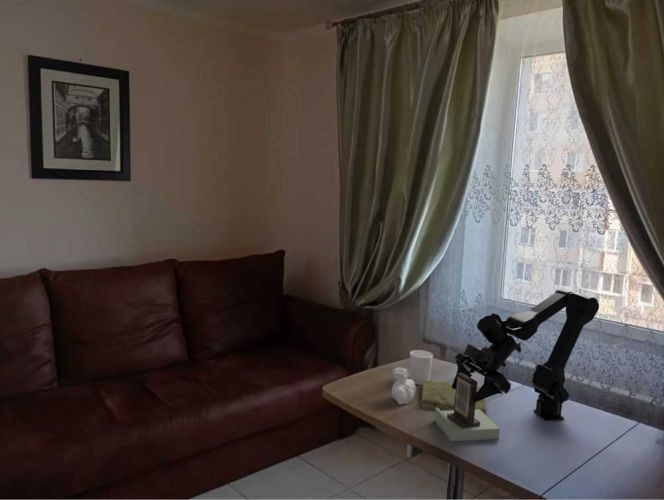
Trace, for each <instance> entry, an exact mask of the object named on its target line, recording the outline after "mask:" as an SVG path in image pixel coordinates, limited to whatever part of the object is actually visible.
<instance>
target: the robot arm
mask: <svg viewBox="0 0 664 500" xmlns="http://www.w3.org/2000/svg"><path fill="white" fill-rule="evenodd" d="M599 308H600V304H599V301H598V299H597V298H596V297H593V296H590V295H587V294H582V293H579V292H575V293H574V292H573V291H570V290H566V289H563V288H561V289H560V288H559V289H556V291H554V293H553V294H551V295H550V296H549V297H546V299H544V300H543V301H541V302H539V303H538V304H536V305H535V306H534V307H532V308H531V309H528V310H527V311H522V312H517V313H515V314H512V315H510V316H509V317H508V318H506V319H504V320H503V319H502V318H501V317H500V315H499V314H498V313H496V312H492V313H491V314H490V315H486V316H483V317H481V318H480V319H479V320H478V322H477V324H476V328H477V331H479V332H480V334H481V335H482V336H483V338H484V339H485V340H486V341H487V342H488V343H490V345H489V346H488V347H486V346H484V347H482V348H481V349H480V348H478V347H476V346H473V345H471V344H467V345H466V348H465V350H464V352H458V353H457V354H456V355H455V357H454V359H455V363H456V366H457V369H456V374H455V376H454V379H453V381H452V383H451V384H452V388H453V389H456V381H457V373H461V372H462V373H464V374H465V375H467V376H469V377H470V378H472V376H473V374H474V373H477V374H479V375H480V376H482V377H484V380H483V383H482V385H481V386H480V389H479V390H478V392H477V393H476V394H475V396H474V397H473V399H472V401H473V402H474V403H475V402H478V401H480V400H483V399H485V400H486V399H487V398H490V397H493V396H497V395H499V394H500V395H503V393H504V394H506V395H507V394H508V393H509V391H510V390H511V387H512V383H511V382H510V381H509V380H508V378H506V376H505V375H504V374H503V373H501V372H499V371H498V370H499V369H500V368H501V367H502V368H505V367H507V364H506V363H505V362H506V361H507V359H509V357H511V355H512V353H514V351H516V352H517V353H521V352H522V347H521V346H522V345H521V342H520V341H517V340H515V338H517V339H519V340H521V341H524V342H526V341H528V340H530V339H531V338H532V337H533V336H534V335H535V334H536V333H537V332H538V330H539V327H540V325H542V324H543V323H545V322H546V321H547V320H548V319H550V318H551V317H553V316H555V314H558V313H559V312H560V311H563V309H564V310H565V315H566V320H565V322H564V324H563V326H562V329H561V331H560V333H559V335H558V337H557V339H556V342H555V344H554V346H553V348H552V349H551V350H552V351H551V352H550V354H549V357H548V360H547V361H546V362H545V363H543V364H541V363H538V364H537V365H536V368H535V370H534V372H533V374H532V379H531V382H532V385H533V390H534V392H535V393H537V394H538V397H537V399H536V404H535V409H533V412H534V413H535V414H537V415H538V416H539V417H540V418H542V419H543V420H544V421H560V420H563V421H564V419H565V417H564V416H562V408H563V404H564V403H565V402H567V401H568V400H569V397H570V393H569V391H567V389H566V388H565V387H564V385H565V382H566V375H565V368H566V366H567V363H568V361H569V359H570V357H571V354H572V352H573V350H574V348H575V345H576V343H577V341H578V339H579V337H580V335H581V332H582V330H583V328H584V326H585V325H587V324H588V323H590V322H591V321H593V320H594V318H595V316H596V315H597V313H598V311H599Z"/></svg>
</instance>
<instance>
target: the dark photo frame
mask: <svg viewBox="0 0 664 500" xmlns="http://www.w3.org/2000/svg"><path fill="white" fill-rule="evenodd" d="M456 373H457V372H456ZM477 387H478V381H477V380H475V379H474V378H472V377H469V376H467V375H465V374H464V373H462V372H461V373H457V381H456V393H455V404H454V413H451V414H447V418H449V419H450V420H451V421H453V422H454V423H455V424H457V425H458V426H459V427H460V428H462V429H463V428H469V427H474V426H480V422H479V421H478V420H476V419H475V418H474V415H475V404H476V402H475V403H474V402H473V401H472V399H473V397H474V396H475V394H476V393H477Z"/></svg>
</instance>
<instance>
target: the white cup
mask: <svg viewBox="0 0 664 500" xmlns="http://www.w3.org/2000/svg"><path fill="white" fill-rule="evenodd" d="M433 357H434V354H433V353H432V352H430V351H427V350H422V349H417V350H416V349H414V350H411V351H409V379H411V380H413V381H414V384H415V385H418V386H419V385H420V386H422V383H423V381H431V380H430V378H431V375H432V374H431V372H432V367H433V366H432V365H433Z"/></svg>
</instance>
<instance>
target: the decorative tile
mask: <svg viewBox="0 0 664 500" xmlns="http://www.w3.org/2000/svg"><path fill="white" fill-rule="evenodd" d="M452 384H453V383H448V382H440V381H439V382H438V381H433V380H429V381H423V383H422V385H421V406H422V407H421V409H423V408H424V410H434V411H435V408H439V409H440V411H448V410H454V404H455V393H456V389H453V388H452ZM480 388H481V386H480V387H478V386H477V392H478V390H479V389H480ZM486 404H487V403H486V398H485V399H483V400H480V401H478V402H476V404H475V409H480V410H481V411H482V412H483V413H484V414H485V415H486V416H487V417H488V415H487V405H486Z"/></svg>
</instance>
